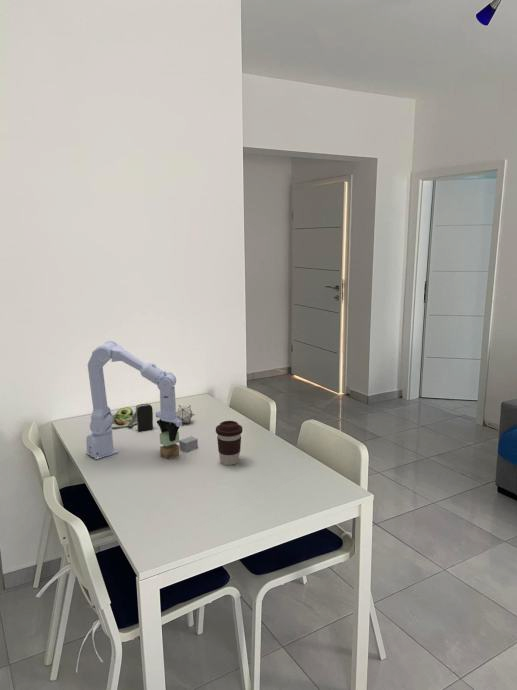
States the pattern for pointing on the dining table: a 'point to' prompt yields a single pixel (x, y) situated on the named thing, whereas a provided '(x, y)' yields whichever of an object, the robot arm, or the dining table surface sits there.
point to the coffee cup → (229, 442)
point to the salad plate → (124, 418)
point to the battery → (144, 417)
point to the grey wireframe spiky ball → (184, 414)
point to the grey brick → (188, 444)
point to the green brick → (167, 439)
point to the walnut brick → (169, 451)
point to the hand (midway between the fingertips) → (169, 439)
